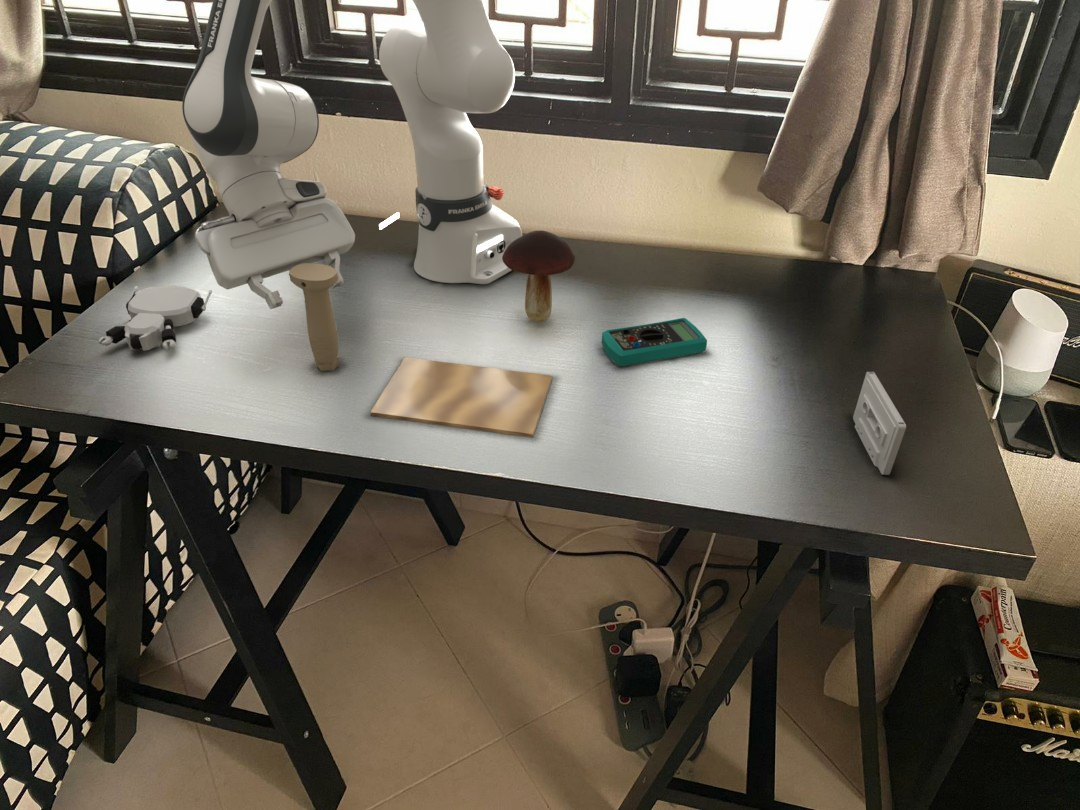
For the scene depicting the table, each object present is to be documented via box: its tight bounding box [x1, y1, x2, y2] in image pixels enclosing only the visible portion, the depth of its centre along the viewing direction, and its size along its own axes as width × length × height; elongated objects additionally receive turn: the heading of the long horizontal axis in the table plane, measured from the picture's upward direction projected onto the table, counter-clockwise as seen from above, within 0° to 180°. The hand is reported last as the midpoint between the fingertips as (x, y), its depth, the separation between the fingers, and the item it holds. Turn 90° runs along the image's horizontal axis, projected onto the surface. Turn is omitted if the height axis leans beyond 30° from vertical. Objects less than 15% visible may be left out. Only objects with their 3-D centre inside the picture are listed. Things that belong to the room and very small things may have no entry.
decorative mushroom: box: [502, 230, 576, 323], centre depth 126 cm, size 11×11×15 cm
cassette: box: [852, 371, 907, 476], centre depth 103 cm, size 12×2×8 cm, turn 0°
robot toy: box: [98, 285, 213, 352], centre depth 124 cm, size 12×4×15 cm
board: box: [369, 357, 554, 438], centre depth 112 cm, size 22×14×1 cm, turn 79°
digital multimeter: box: [601, 317, 708, 368], centre depth 122 cm, size 7×15×3 cm, turn 108°
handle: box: [288, 262, 340, 372], centre depth 113 cm, size 5×6×15 cm
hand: (308, 295), depth 113 cm, fingers open, 8 cm apart
